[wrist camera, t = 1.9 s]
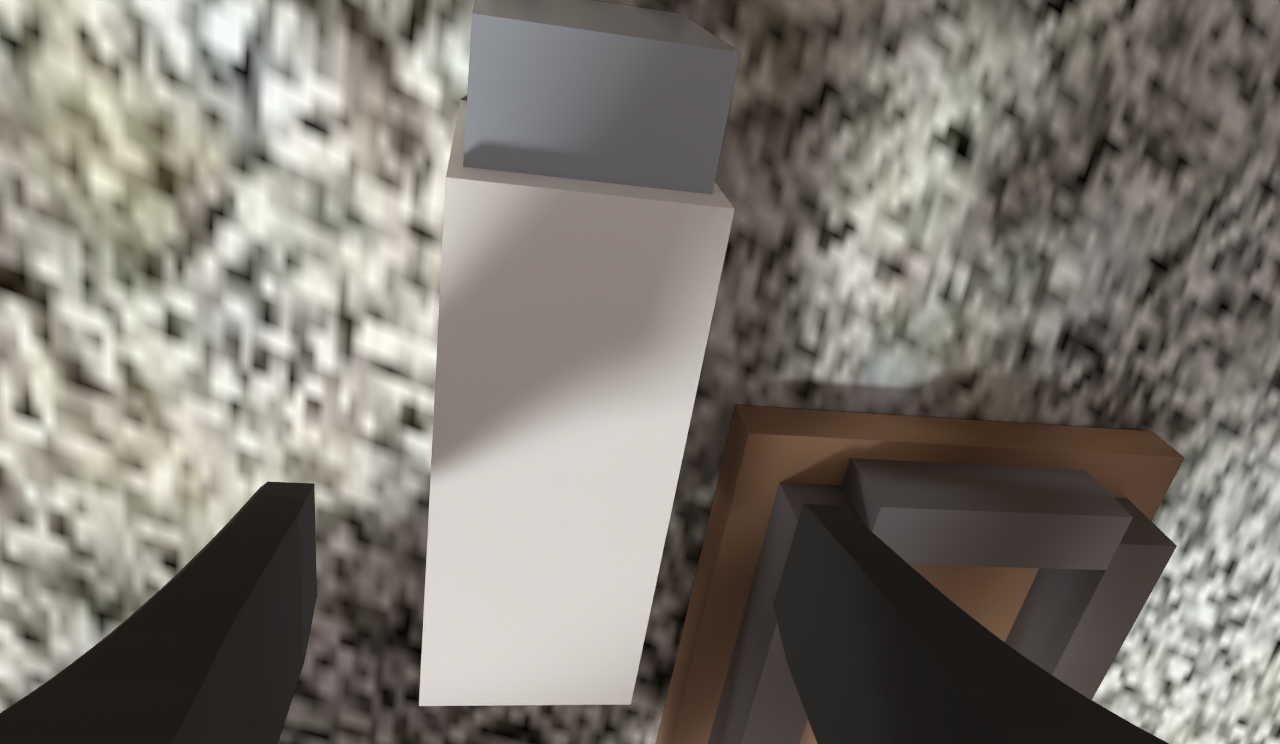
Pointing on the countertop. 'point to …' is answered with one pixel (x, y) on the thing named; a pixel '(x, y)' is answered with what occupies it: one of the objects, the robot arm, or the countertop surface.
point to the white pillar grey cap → (568, 343)
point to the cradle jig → (920, 546)
